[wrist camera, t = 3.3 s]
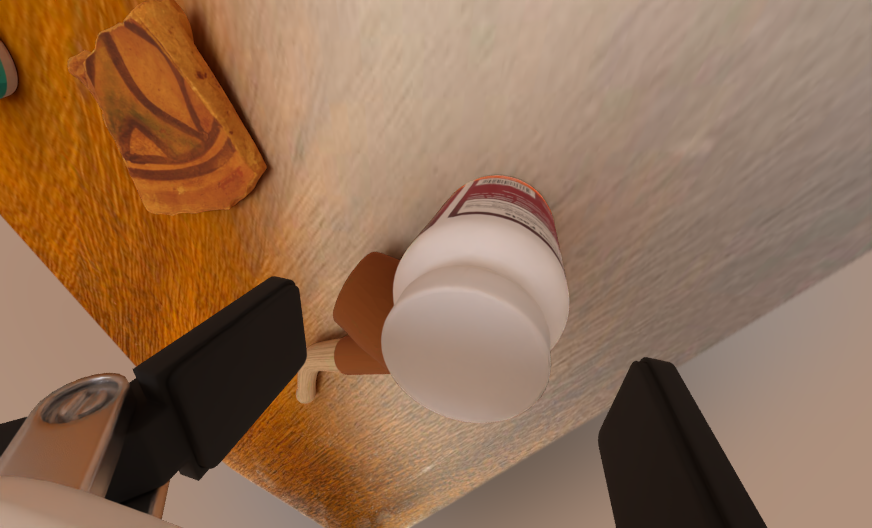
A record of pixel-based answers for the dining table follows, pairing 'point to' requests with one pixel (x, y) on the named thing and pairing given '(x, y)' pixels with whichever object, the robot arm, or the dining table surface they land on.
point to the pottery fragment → (169, 113)
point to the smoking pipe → (354, 326)
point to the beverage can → (7, 73)
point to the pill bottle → (479, 304)
